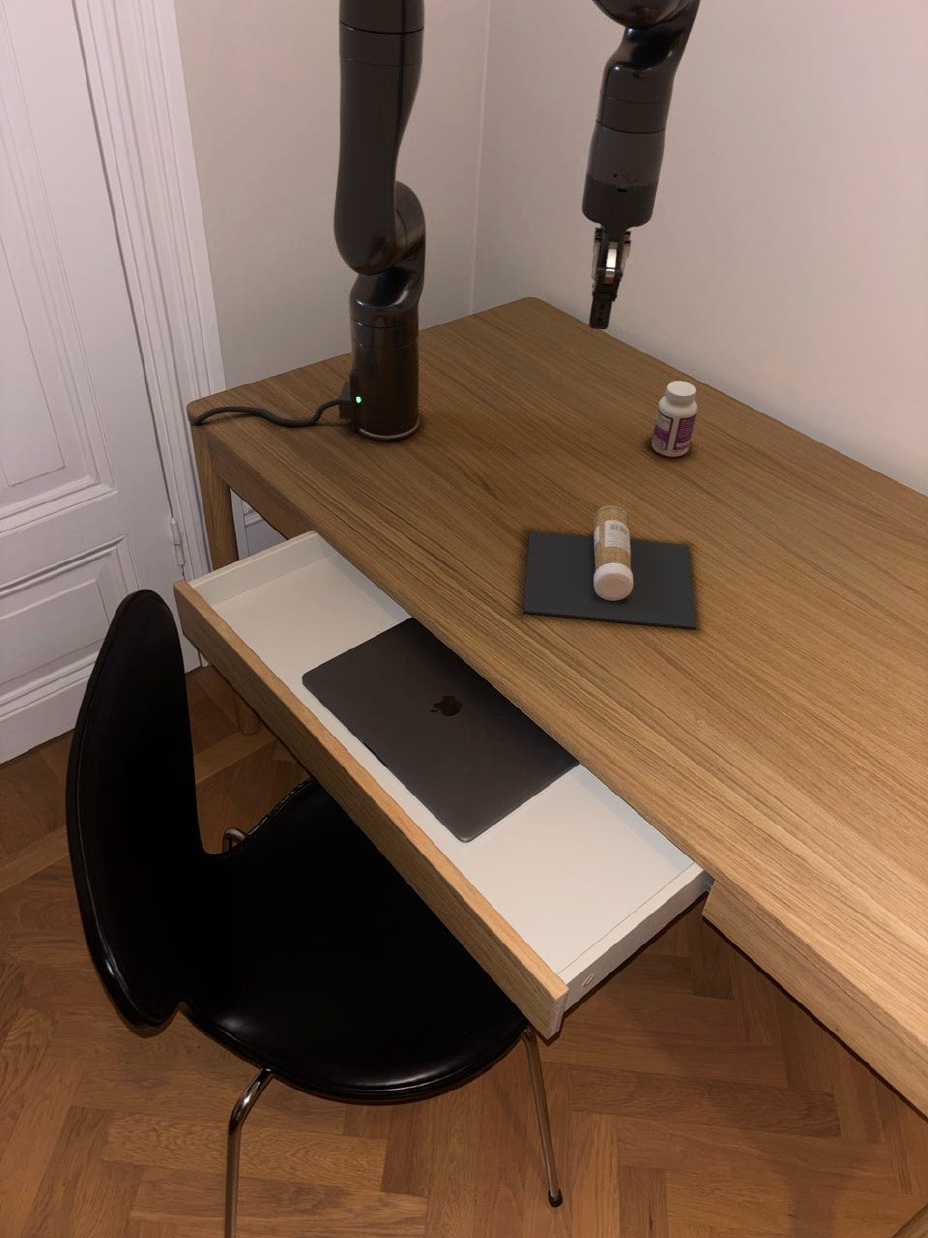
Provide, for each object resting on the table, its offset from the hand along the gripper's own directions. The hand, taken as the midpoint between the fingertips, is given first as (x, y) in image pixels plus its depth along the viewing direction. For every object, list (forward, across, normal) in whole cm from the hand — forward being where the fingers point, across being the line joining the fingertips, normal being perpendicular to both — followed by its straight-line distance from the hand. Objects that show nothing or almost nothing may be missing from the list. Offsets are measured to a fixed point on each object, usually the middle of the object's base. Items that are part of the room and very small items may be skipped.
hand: (598, 325), depth 109 cm
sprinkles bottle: (+22, +7, +5) cm, 24 cm away
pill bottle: (+25, -14, +14) cm, 32 cm away
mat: (+24, +16, +5) cm, 30 cm away
